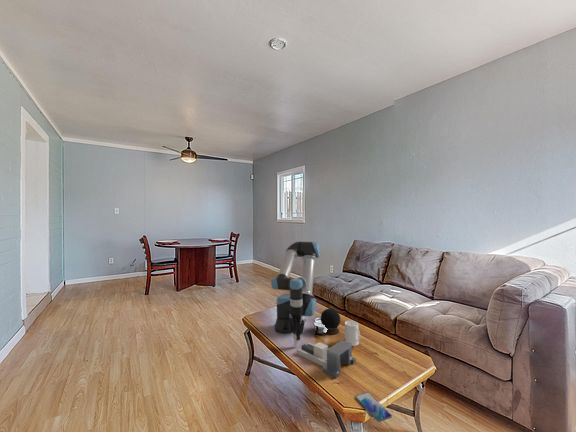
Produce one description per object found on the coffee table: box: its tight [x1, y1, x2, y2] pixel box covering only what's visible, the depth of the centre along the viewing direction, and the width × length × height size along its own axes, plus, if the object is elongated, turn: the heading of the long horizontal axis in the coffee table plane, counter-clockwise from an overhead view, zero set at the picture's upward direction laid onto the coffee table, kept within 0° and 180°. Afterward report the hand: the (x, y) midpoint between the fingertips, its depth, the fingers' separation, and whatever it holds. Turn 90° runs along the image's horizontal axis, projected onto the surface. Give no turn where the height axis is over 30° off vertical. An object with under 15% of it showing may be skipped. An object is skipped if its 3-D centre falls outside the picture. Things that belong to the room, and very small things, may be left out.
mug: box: [344, 320, 362, 347], centre depth 160 cm, size 12×8×12 cm
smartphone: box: [354, 391, 393, 423], centre depth 108 cm, size 7×1×15 cm
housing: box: [321, 339, 357, 379], centre depth 137 cm, size 8×19×10 cm, turn 136°
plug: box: [301, 342, 329, 361], centre depth 148 cm, size 16×5×7 cm, turn 46°
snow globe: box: [320, 308, 341, 336], centre depth 178 cm, size 13×13×15 cm
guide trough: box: [296, 342, 327, 368], centre depth 146 cm, size 22×11×2 cm, turn 46°
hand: (296, 344), depth 157 cm, fingers closed
